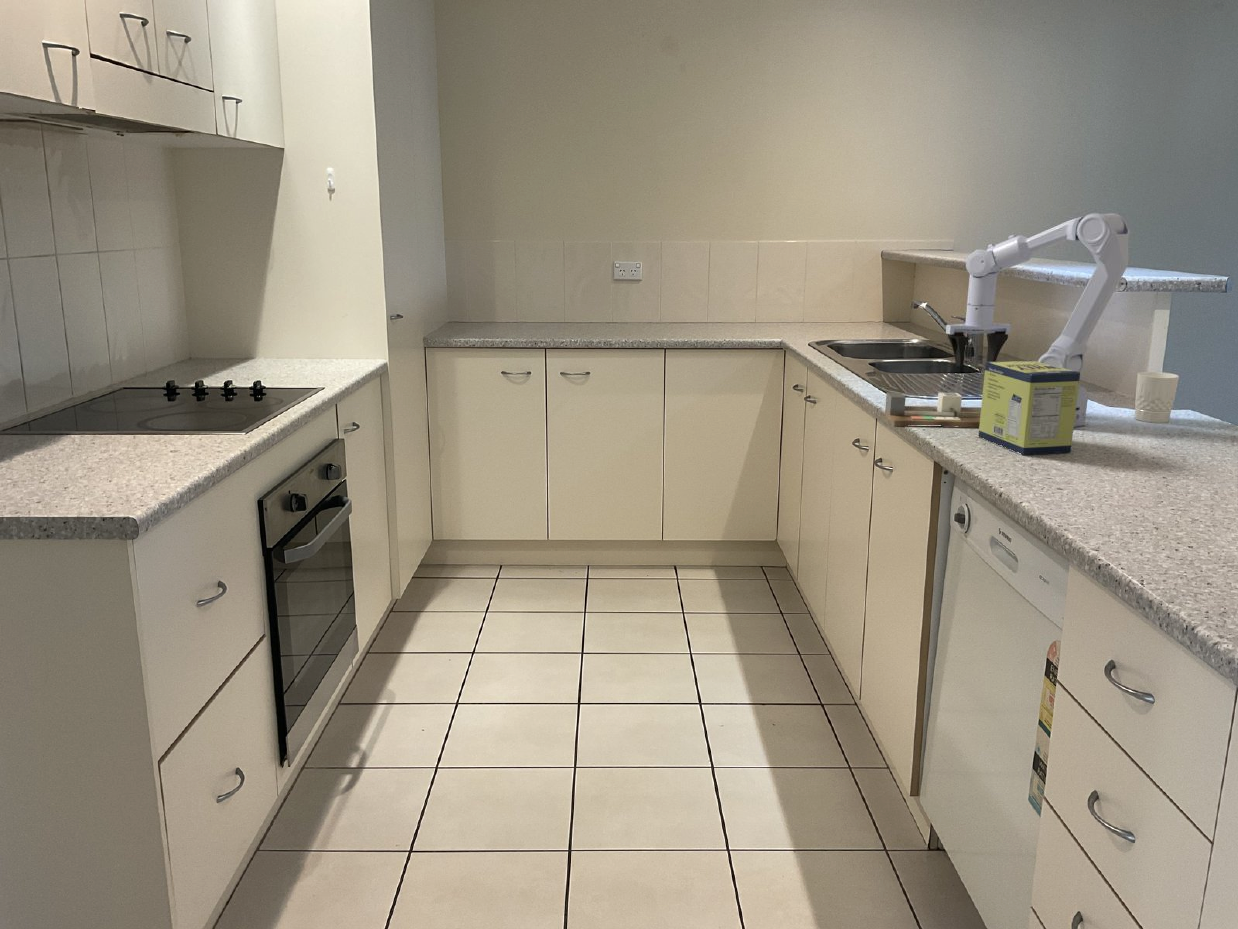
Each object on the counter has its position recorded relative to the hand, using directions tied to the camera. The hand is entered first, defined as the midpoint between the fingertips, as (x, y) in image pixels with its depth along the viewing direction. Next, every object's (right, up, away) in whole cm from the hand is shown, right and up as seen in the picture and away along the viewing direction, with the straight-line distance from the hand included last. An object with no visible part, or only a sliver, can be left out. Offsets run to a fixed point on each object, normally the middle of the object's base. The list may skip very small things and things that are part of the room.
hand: (975, 365), depth 220 cm
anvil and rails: (-11, -11, -8) cm, 18 cm away
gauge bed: (-11, -13, -10) cm, 20 cm away
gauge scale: (-13, -13, -13) cm, 23 cm away
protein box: (-2, -19, -30) cm, 35 cm away
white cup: (+36, -13, -7) cm, 39 cm away
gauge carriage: (-9, -12, -10) cm, 18 cm away
